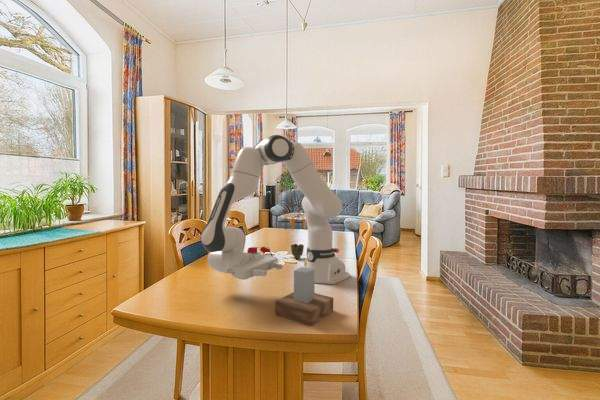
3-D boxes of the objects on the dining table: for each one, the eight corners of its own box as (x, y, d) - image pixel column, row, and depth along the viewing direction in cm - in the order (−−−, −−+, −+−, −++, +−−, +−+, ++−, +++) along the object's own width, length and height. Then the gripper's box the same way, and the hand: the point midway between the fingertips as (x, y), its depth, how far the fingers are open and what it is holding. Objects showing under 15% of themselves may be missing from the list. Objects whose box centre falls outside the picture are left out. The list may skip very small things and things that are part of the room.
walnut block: (299, 302, 113) (299, 289, 113) (333, 312, 105) (333, 297, 105) (275, 316, 102) (275, 301, 101) (311, 327, 94) (311, 311, 94)
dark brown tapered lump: (305, 257, 179) (305, 244, 179) (301, 260, 172) (301, 246, 172) (292, 256, 181) (292, 243, 181) (288, 259, 174) (289, 245, 174)
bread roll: (301, 264, 165) (301, 257, 165) (317, 263, 168) (317, 256, 168) (306, 268, 158) (307, 260, 157) (323, 267, 161) (323, 259, 160)
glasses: (270, 254, 189) (270, 246, 188) (273, 261, 173) (273, 252, 172) (246, 255, 186) (246, 246, 186) (247, 261, 170) (248, 252, 169)
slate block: (293, 300, 102) (293, 270, 102) (301, 295, 107) (301, 266, 106) (307, 303, 100) (307, 272, 99) (314, 298, 104) (314, 269, 103)
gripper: (223, 262, 107) (254, 268, 100) (260, 251, 125) (289, 255, 118) (223, 280, 108) (254, 287, 101) (260, 266, 125) (288, 272, 118)
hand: (273, 270), depth 109 cm, fingers open, 8 cm apart
